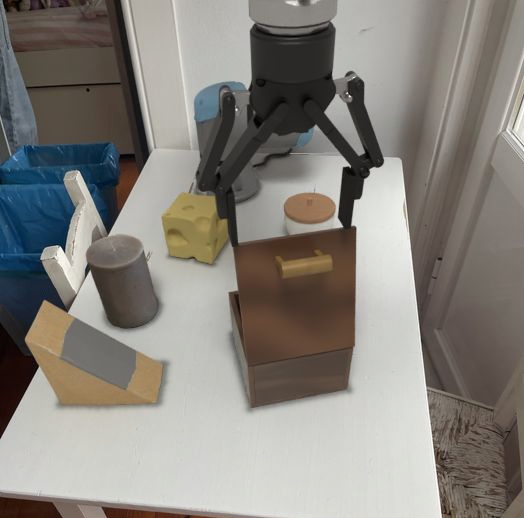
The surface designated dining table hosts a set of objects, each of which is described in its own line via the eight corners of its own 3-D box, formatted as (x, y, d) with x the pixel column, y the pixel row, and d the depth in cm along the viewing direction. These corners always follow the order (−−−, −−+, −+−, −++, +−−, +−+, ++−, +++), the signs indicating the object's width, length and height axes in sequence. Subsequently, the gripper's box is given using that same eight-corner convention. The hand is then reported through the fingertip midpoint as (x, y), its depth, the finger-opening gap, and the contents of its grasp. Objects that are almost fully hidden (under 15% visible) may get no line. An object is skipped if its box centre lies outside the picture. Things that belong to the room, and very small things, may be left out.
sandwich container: (157, 404, 76) (136, 338, 65) (60, 406, 76) (23, 340, 65) (164, 363, 82) (146, 296, 71) (74, 365, 82) (42, 298, 71)
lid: (232, 243, 59) (239, 259, 54) (354, 225, 61) (372, 239, 56) (247, 363, 68) (254, 386, 63) (353, 343, 70) (368, 364, 65)
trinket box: (330, 254, 101) (333, 214, 94) (279, 249, 103) (279, 209, 96) (335, 225, 108) (338, 186, 101) (288, 221, 110) (288, 183, 103)
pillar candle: (105, 331, 87) (79, 264, 76) (108, 296, 94) (85, 230, 83) (159, 324, 88) (141, 257, 77) (158, 290, 95) (142, 224, 84)
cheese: (213, 265, 100) (207, 223, 92) (166, 256, 102) (157, 214, 95) (231, 237, 106) (227, 196, 99) (186, 230, 109) (180, 189, 102)
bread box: (232, 334, 86) (228, 291, 79) (317, 319, 88) (320, 276, 81) (250, 408, 75) (247, 366, 68) (347, 389, 77) (353, 347, 70)
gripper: (150, 50, 38) (188, 266, 54) (447, 20, 41) (400, 233, 57) (145, 23, 43) (181, 229, 58) (410, -2, 46) (377, 200, 62)
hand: (289, 231), depth 58 cm, fingers open, 13 cm apart
